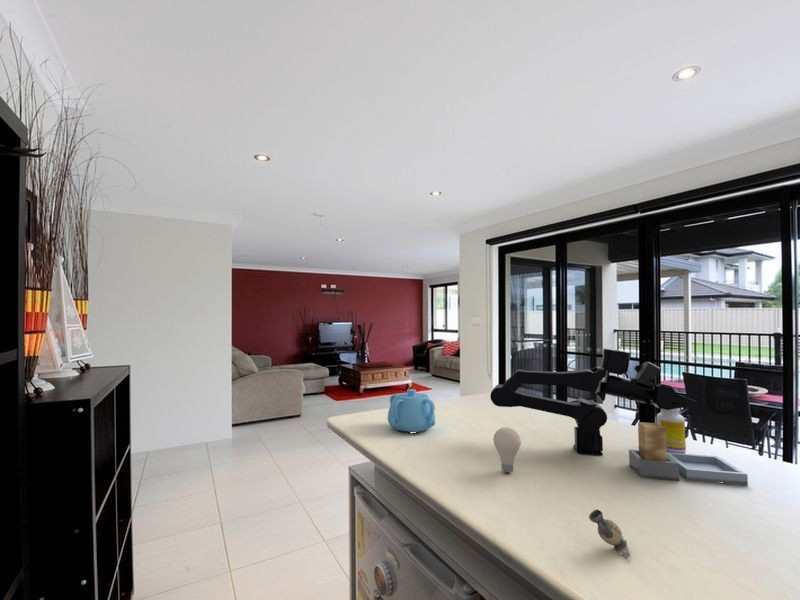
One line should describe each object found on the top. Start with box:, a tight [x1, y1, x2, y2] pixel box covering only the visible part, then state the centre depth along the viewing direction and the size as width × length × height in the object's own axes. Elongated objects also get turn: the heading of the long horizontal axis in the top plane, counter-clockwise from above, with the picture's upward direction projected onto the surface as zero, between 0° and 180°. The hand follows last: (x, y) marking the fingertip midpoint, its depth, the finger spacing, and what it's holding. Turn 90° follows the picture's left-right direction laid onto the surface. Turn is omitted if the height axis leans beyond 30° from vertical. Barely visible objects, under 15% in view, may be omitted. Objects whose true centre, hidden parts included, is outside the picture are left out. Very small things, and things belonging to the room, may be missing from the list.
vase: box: [588, 509, 632, 561], centre depth 62 cm, size 5×5×6 cm
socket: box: [628, 449, 680, 482], centre depth 93 cm, size 8×8×4 cm
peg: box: [637, 421, 667, 461], centre depth 93 cm, size 4×4×11 cm
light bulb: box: [492, 426, 522, 474], centre depth 93 cm, size 7×7×11 cm
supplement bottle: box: [656, 408, 687, 454], centre depth 110 cm, size 7×7×13 cm
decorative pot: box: [387, 388, 436, 433], centre depth 131 cm, size 16×16×14 cm
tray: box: [667, 452, 749, 486], centre depth 93 cm, size 12×12×2 cm
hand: (690, 402), depth 101 cm, fingers open, 9 cm apart
